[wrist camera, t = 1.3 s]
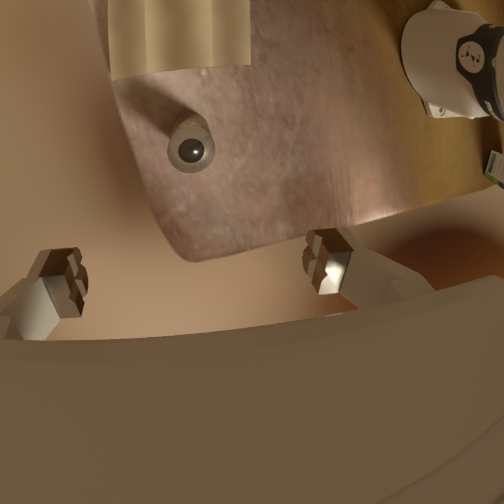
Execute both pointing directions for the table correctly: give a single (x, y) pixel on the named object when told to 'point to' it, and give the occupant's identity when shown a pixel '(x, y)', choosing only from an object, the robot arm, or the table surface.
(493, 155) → the syrup box
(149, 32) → the frame
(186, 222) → the table surface
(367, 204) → the table surface
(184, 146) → the bushing
